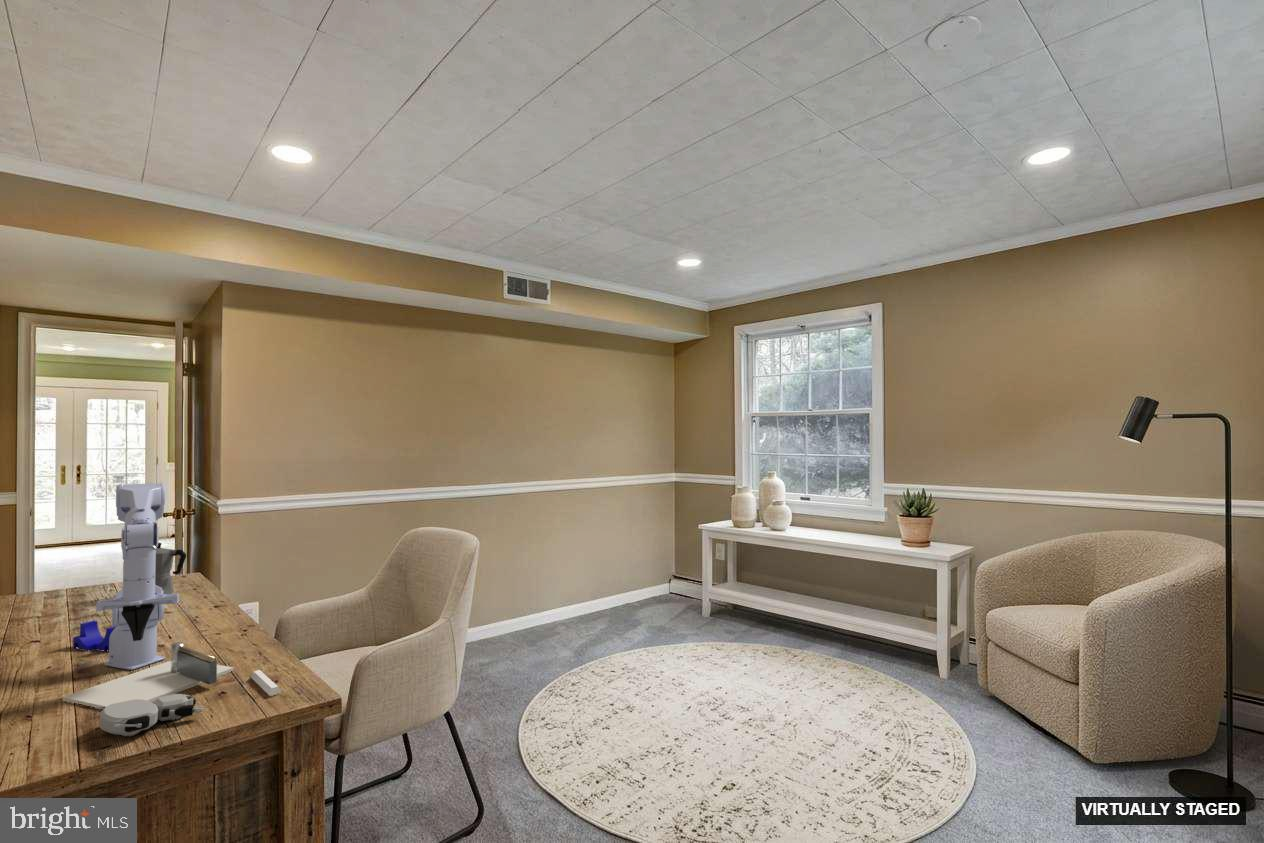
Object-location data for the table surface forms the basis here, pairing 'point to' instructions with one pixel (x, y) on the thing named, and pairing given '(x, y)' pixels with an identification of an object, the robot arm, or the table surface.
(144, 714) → the robot toy
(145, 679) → the gate board
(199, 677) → the gate
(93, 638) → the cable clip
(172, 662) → the gate post
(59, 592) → the table surface
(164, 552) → the coffeepot
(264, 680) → the marker
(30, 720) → the table surface
